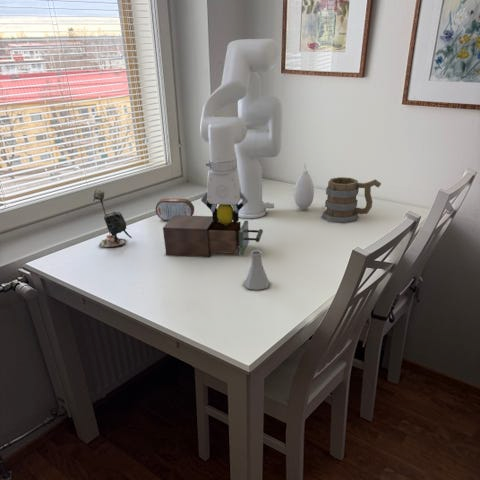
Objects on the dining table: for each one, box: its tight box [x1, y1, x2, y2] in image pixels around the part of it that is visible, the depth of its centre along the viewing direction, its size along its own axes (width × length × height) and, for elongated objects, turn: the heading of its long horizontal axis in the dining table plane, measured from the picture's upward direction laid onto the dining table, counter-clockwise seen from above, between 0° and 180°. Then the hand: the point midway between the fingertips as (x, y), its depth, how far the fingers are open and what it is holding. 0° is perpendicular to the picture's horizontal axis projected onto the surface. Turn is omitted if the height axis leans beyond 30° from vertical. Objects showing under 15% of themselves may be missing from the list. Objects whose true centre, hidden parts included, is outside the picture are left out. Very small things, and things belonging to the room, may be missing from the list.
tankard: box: [322, 176, 382, 224], centre depth 174 cm, size 20×13×15 cm, turn 68°
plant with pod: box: [92, 188, 133, 248], centre depth 158 cm, size 8×11×20 cm
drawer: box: [208, 220, 264, 256], centre depth 152 cm, size 19×11×8 cm, turn 80°
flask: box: [244, 249, 270, 291], centre depth 130 cm, size 7×7×10 cm
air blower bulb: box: [293, 163, 315, 211], centre depth 184 cm, size 8×8×18 cm
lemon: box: [216, 204, 234, 226], centre depth 148 cm, size 6×6×8 cm
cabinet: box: [162, 215, 214, 258], centre depth 154 cm, size 15×12×10 cm
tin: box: [155, 197, 195, 222], centre depth 180 cm, size 15×3×8 cm, turn 84°
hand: (225, 222), depth 150 cm, fingers closed on lemon, 5 cm apart
